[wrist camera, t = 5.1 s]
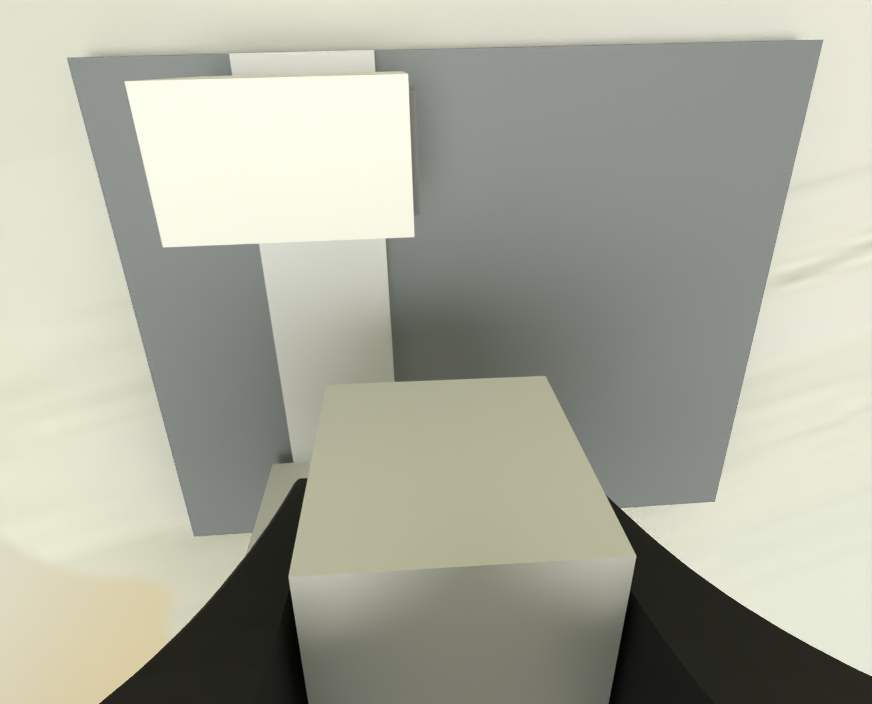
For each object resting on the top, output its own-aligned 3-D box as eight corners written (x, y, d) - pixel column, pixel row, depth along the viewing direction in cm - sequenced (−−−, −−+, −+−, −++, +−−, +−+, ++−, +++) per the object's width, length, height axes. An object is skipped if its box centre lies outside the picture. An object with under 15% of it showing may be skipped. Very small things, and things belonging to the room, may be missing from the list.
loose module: (530, 556, 14) (595, 778, 10) (344, 567, 14) (323, 801, 10) (546, 375, 12) (637, 556, 8) (325, 384, 12) (287, 577, 7)
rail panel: (700, 482, 24) (805, 622, 18) (203, 514, 23) (136, 675, 17) (795, 41, 17) (1019, 28, 11) (88, 58, 16) (-96, 54, 10)
